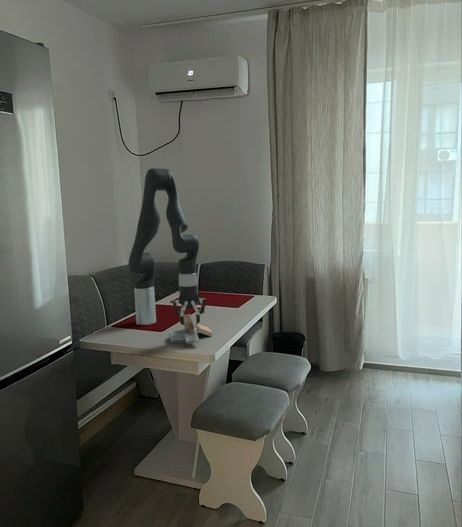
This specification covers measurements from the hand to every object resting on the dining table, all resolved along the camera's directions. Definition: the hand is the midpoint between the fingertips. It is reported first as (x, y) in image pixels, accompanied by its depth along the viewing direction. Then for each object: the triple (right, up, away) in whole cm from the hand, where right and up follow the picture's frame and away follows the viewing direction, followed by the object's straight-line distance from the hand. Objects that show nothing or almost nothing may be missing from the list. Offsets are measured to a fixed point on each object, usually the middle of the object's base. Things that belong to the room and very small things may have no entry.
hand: (190, 323), depth 187 cm
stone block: (-2, -7, +1) cm, 8 cm away
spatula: (0, -3, -1) cm, 3 cm away
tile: (+4, -3, +10) cm, 11 cm away
